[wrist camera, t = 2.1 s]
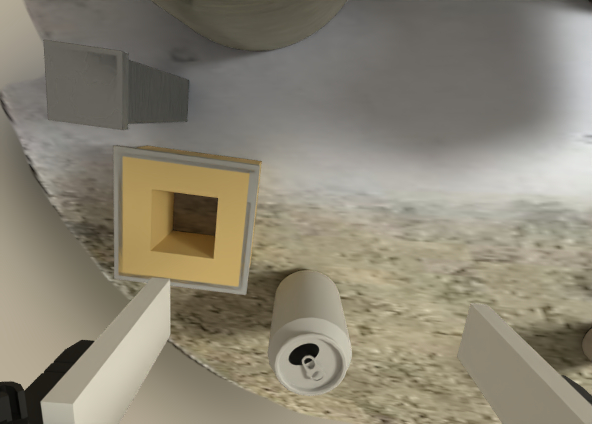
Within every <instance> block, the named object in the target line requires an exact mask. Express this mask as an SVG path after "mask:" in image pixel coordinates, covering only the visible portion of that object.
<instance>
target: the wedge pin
mask: <svg viewBox="0 0 592 424" xmlns="http://www.w3.org/2000/svg"><path fill="white" fill-rule="evenodd" d="M44 56H45V73H46V91H47V108H48V120H54V121H62V122H69V123H76V124H83V125H91V126H98V127H105V128H112V129H119V130H127V129H128V124H138V123H162V122H187V114H188V93H189V80H187V79H184V78H181V77H178V76H175V75H172V74H169V73H167V72H164V71H161V70H158V69H155V68H152V67H149V66H146V65H143V64H140V63H137V62H134V61H131V60H128V53H126V52H123V51H118V50H111V49H105V48H98V47H91V46H84V45H77V44H70V43H63V42H56V41H49V40H44Z"/></svg>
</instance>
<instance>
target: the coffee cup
mask: <svg viewBox="0 0 592 424" xmlns="http://www.w3.org/2000/svg"><path fill="white" fill-rule="evenodd" d="M582 349H583V352H584V354H585V355H586V356H587V357H588V358H589V359H590V360H591V361H592V328H591V329H590V330H589V331H588V332H587V334H586V335H585V337H584V339H583V343H582Z"/></svg>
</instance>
